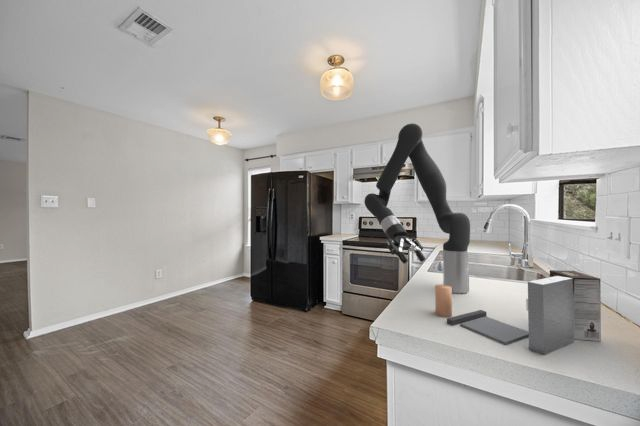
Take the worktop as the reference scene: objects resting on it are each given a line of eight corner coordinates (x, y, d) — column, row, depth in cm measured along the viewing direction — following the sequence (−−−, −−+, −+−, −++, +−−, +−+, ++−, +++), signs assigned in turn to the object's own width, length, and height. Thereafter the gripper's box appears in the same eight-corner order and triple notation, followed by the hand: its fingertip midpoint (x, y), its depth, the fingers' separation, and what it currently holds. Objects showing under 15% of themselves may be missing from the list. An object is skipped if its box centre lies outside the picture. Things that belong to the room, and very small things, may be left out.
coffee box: (548, 324, 73) (547, 269, 74) (574, 326, 72) (573, 270, 72) (573, 339, 64) (572, 276, 65) (603, 342, 63) (602, 278, 63)
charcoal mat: (486, 318, 78) (486, 316, 78) (532, 335, 67) (532, 332, 67) (460, 325, 73) (460, 323, 73) (505, 344, 62) (505, 342, 62)
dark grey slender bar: (480, 315, 81) (480, 309, 81) (486, 317, 80) (486, 311, 80) (446, 324, 74) (446, 318, 74) (452, 326, 73) (452, 320, 73)
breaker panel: (552, 335, 67) (551, 274, 67) (573, 342, 63) (572, 278, 63) (523, 346, 61) (521, 280, 61) (544, 355, 57) (543, 284, 57)
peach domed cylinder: (442, 310, 84) (442, 283, 85) (455, 315, 80) (455, 287, 80) (432, 313, 82) (431, 285, 83) (444, 318, 78) (444, 289, 78)
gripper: (383, 222, 98) (405, 256, 87) (411, 222, 104) (434, 254, 93) (375, 235, 102) (394, 269, 92) (402, 234, 108) (423, 265, 98)
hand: (414, 261), depth 92 cm, fingers open, 8 cm apart
